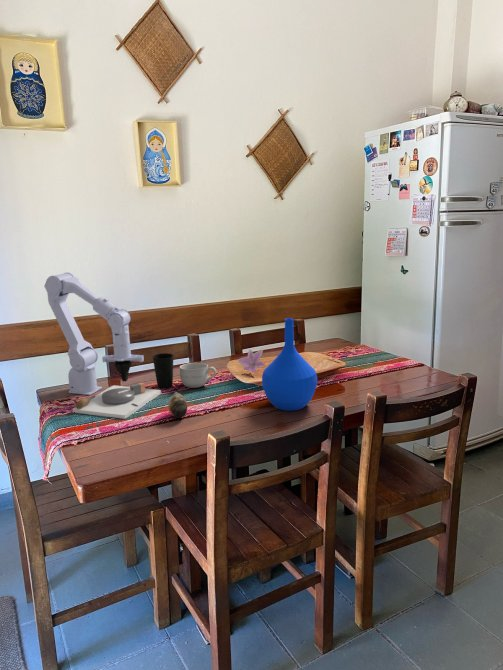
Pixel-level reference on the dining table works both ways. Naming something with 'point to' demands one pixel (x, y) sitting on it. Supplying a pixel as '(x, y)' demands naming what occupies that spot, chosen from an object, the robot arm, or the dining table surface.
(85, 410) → the board
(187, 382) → the teacup
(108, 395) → the grey handled disc
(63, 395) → the dining table surface
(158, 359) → the cup
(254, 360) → the lily
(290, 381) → the vase
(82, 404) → the screwdriver
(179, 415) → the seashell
